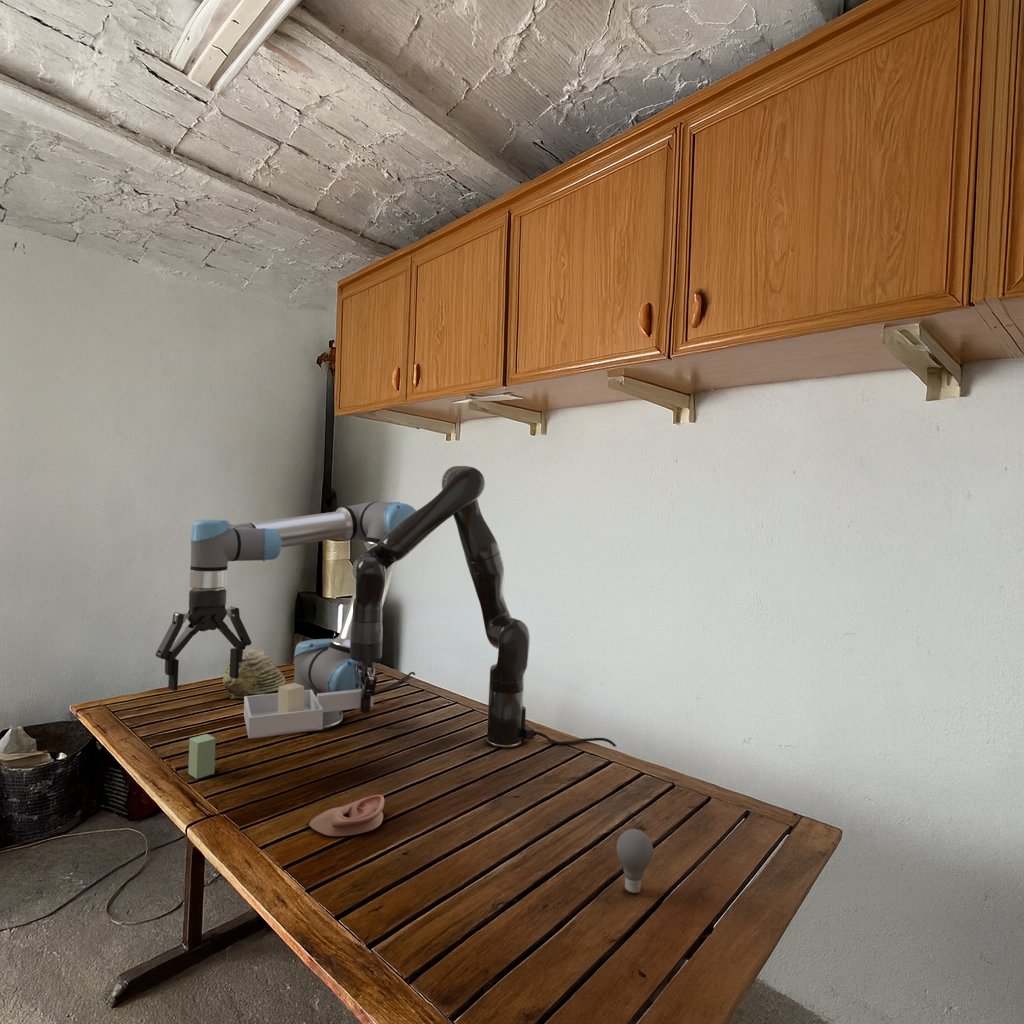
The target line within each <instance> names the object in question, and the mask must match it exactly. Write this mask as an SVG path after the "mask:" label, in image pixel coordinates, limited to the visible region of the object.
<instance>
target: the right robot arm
mask: <svg viewBox="0 0 1024 1024" xmlns="http://www.w3.org/2000/svg"><path fill="white" fill-rule="evenodd" d="M485 487H486V480H485V477H484V475H483V473H482V472H481V471H480V470H479V469H478V468H476V467H473V466H469V465H454V466H450V467H449V468H448V469H446V470H445V472H444V474H443V475H442V478H441V489H442V490H441V491H440V492H439V493H438V494H437V495H436V496H435V497H434V498H432V499H431V500H430V501H429V502H427V503H426V504H424V505H423V506H422V507H420V508H419V509H417V510H416V512H414V513H412V514H411V515H409V516H408V517H407V518H405V519H404V520H403V521H401V522H400V523H399V524H398V525H397V526H396V527H395V528H393V529H392V530H391V531H390V532H389V533H388V534H387V535H386V536H385V537H384V538H383V539H382V540H381V541H379V542H378V543H376V544H375V545H374V546H372V547H371V548H369V549H368V550H367V549H366V550H365V551H364V552H362V554H360V555H359V556H358V557H357V558H356V559H355V561H354V562H353V564H352V568H351V569H352V570H351V571H352V575H353V577H354V579H355V587H356V597H355V598H354V601H353V610H352V625H351V636H350V658H351V659H352V660H354V661H358V664H355V665H354V668H355V681H356V688H358V689H361V694H360V696H361V708H358V710H359V711H360V713H362V714H365V713H369V712H371V707H370V702H371V696H374V697H375V694H374V692H375V691H376V687H377V682H378V677H377V675H376V666H374V665H375V663H374V662H376V661H378V660H380V659H382V657H383V635H384V633H383V632H384V631H383V630H384V629H383V627H384V626H383V607H382V599H383V594H384V588H385V580H386V569H387V568H388V567H390V566H391V565H392V564H393V563H394V562H396V561H397V562H399V561H401V560H403V559H405V557H407V556H408V555H409V554H410V553H411V552H412V551H413V550H414V549H415V548H416V547H418V546H419V545H420V544H421V543H422V542H423V541H424V540H425V539H426V538H427V537H428V536H430V534H432V533H433V532H434V531H435V530H437V529H438V528H439V527H440V526H441V525H442V524H444V523H445V522H446V521H447V520H448V519H450V518H451V517H452V516H453V518H454V522H455V525H456V528H457V532H458V536H459V540H460V544H461V546H462V551H463V554H464V559H465V562H466V565H467V568H468V571H469V574H470V577H471V580H472V583H473V587H474V590H475V593H476V596H477V599H478V602H479V606H480V609H481V615H482V619H483V626H484V630H485V635H486V638H487V640H488V642H489V644H490V645H491V646H492V647H493V648H495V649H496V650H498V651H497V662H496V663H494V664H492V665H491V666H490V668H489V681H488V682H489V683H488V703H487V705H488V708H487V723H486V727H485V728H486V743H487V744H488V745H489V746H492V747H494V748H501V749H512V748H517V747H519V746H520V745H522V744H525V740H526V741H531V740H534V739H535V735H538V736H541V737H543V738H544V739H546V741H548V742H549V743H551V744H554V745H560V746H561V745H575V744H578V743H583V742H599V741H600V742H606V743H609V744H610V745H611V746H612V747H617V744H616V743H615V742H613V741H612V740H611V739H609V738H605V737H590V738H589V737H588V738H578V739H574V740H564V741H557V740H554V739H551V738H550V737H549V736H548V735H547V734H545V733H544V732H540V731H538V730H535V729H534V728H533V727H531V726H530V725H528V724H527V723H526V719H527V718H526V717H527V715H526V714H527V708H526V707H525V706H524V693H525V692H524V690H525V674H526V673H525V672H526V671H527V668H528V665H529V658H530V657H529V655H530V645H531V634H530V629H529V627H528V625H527V624H526V623H525V622H524V621H522V620H520V619H518V618H515V617H513V616H512V614H511V612H510V610H509V608H508V605H507V602H506V598H505V579H506V567H505V563H504V559H503V556H502V552H501V549H500V547H499V544H498V541H497V539H496V537H495V535H494V533H493V532H492V530H491V528H490V527H489V524H488V523H487V522H486V520H485V518H484V516H483V514H482V511H481V508H480V505H479V500H478V499H479V498H480V497H481V495H482V494H483V492H484V491H485ZM374 675H375V676H374ZM367 690H369V691H367Z"/></svg>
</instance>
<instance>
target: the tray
mask: <svg viewBox="0 0 1024 1024" xmlns="http://www.w3.org/2000/svg"><path fill="white" fill-rule="evenodd" d="M367 691H369V690H367ZM360 694H361V689H356V690H346V691H337V692H327V693H317V698H316V696H315V694H314V692H313V691H312V690H304V708H303V711H297V712H288V713H279V714H278V693H274V694H264V695H254V696H245V697H244V698H243V718H244V723H245V729H246V734H247V739H251V740H252V739H259V738H265V737H266V738H267V737H273V736H281V735H288V734H298V733H306V732H305V731H313V730H321V729H322V727H323V712H331V711H339V710H342V711H345V710H346V711H347V710H355V709H359V708H361V696H360ZM374 697H375V695H374V696H371V702H370V708H372V707H374Z"/></svg>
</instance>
